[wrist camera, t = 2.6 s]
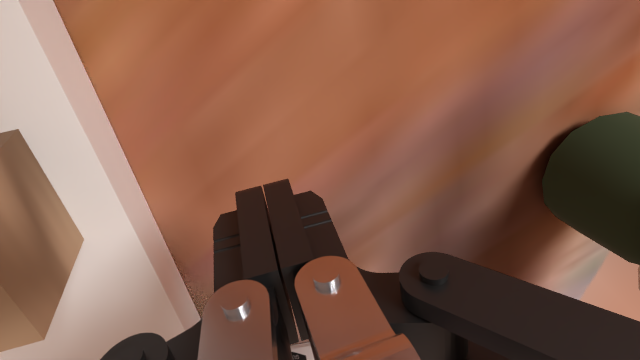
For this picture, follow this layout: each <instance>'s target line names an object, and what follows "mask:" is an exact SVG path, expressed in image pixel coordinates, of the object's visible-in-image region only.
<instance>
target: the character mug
mask: <svg viewBox="0 0 640 360" xmlns="http://www.w3.org/2000/svg"><path fill="white" fill-rule="evenodd" d="M542 186H543V195H544V203H545V204H546V206H547V207H548V208H549V209H550V210H551V212H552V213H553V214H554V215H555V216H556V217H557V218H559V219H560V220H562V221H563V222H565V223H566V224H568V225H569V226H571V227H572V228H574V229H575V230H577V231H578V232H580V233H581V234H583V235H585V236H586V237H588V238H590V239H592V240H593V241H595V242H597V243H598V244H600V245H602V246H603V247H605V248H607V249H608V250H610V251H612V252H613V253H615V254H617V255H619V256H620V257H622V258H623V259H625V260H627V261H628V262H631V263H635V264H638V265H640V116H637V115H634V114H631V113H629V112H624V113H618V114H612V115H605V116H599V117H598V118H596V119H594V120H592V121H590V122H588V123H587V124H585V125H583V126H581V127H579V128H577V129H576V130H574V131H572V132H571V133H570V134H569V135H568V136H567V137H566V139H565V140H564V141H563V142H562V143H561V144H560V145H559V147H558V148H557V149H556V150H555V151H554V152H553V153H552V155H551V157H550V159H549V162H548V165H547V168H546V171H545V174H544V177H543V179H542ZM638 277H639V289H640V266H639V268H638Z"/></svg>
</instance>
